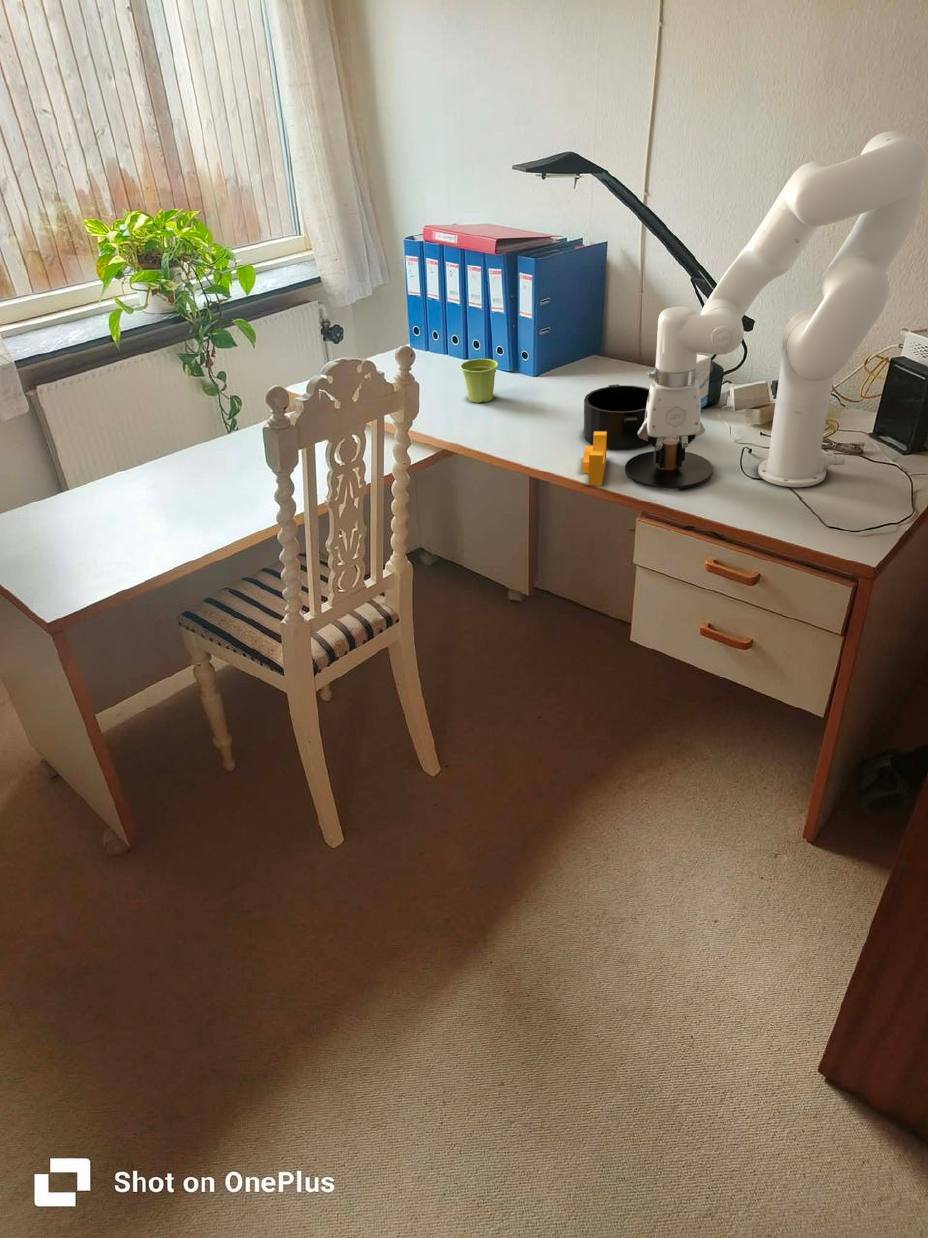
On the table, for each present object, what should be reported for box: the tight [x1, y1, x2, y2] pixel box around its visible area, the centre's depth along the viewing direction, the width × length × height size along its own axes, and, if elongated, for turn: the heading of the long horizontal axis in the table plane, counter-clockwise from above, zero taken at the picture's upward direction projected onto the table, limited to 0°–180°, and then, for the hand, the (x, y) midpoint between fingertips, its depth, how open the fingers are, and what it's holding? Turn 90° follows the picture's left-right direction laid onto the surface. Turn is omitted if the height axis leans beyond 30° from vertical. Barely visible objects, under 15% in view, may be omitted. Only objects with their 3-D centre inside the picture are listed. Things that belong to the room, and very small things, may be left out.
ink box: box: [695, 353, 712, 409], centre depth 203 cm, size 9×8×12 cm
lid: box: [624, 438, 714, 490], centre depth 175 cm, size 17×17×7 cm
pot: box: [583, 384, 651, 451], centre depth 192 cm, size 16×22×8 cm
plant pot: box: [459, 358, 499, 403], centre depth 217 cm, size 9×9×9 cm
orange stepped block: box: [582, 431, 607, 486], centre depth 178 cm, size 12×4×6 cm, turn 168°
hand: (668, 464), depth 176 cm, fingers closed on lid, 3 cm apart
